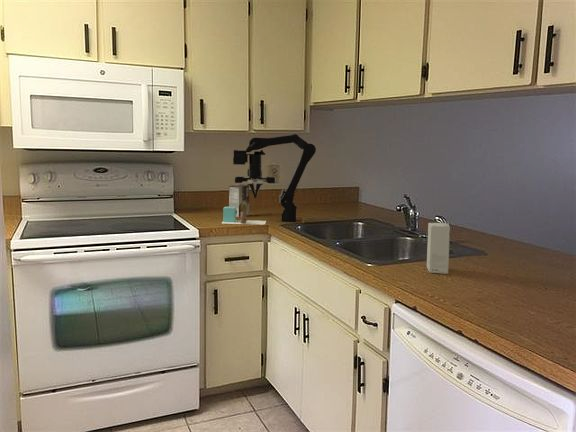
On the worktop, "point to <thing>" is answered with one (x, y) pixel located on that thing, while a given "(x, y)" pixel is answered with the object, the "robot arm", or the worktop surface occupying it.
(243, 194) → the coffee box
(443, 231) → the skincare box
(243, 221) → the walnut dowel
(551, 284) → the worktop surface
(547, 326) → the worktop surface
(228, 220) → the light blue block
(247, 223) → the board
